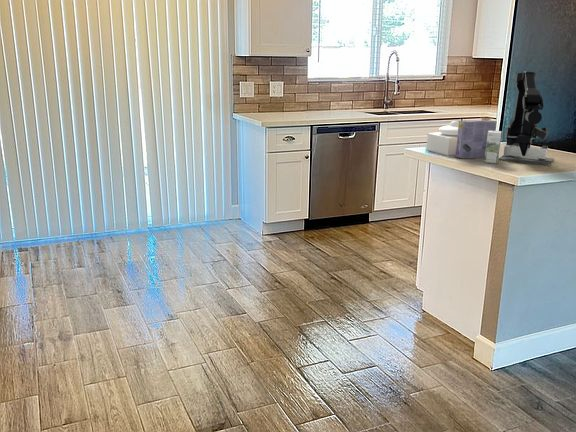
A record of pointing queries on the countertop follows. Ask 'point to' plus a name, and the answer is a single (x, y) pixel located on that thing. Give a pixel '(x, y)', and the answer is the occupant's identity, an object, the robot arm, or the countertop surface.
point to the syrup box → (493, 146)
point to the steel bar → (530, 152)
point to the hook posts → (530, 157)
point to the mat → (524, 161)
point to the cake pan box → (473, 138)
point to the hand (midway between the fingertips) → (524, 155)
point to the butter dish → (444, 140)
